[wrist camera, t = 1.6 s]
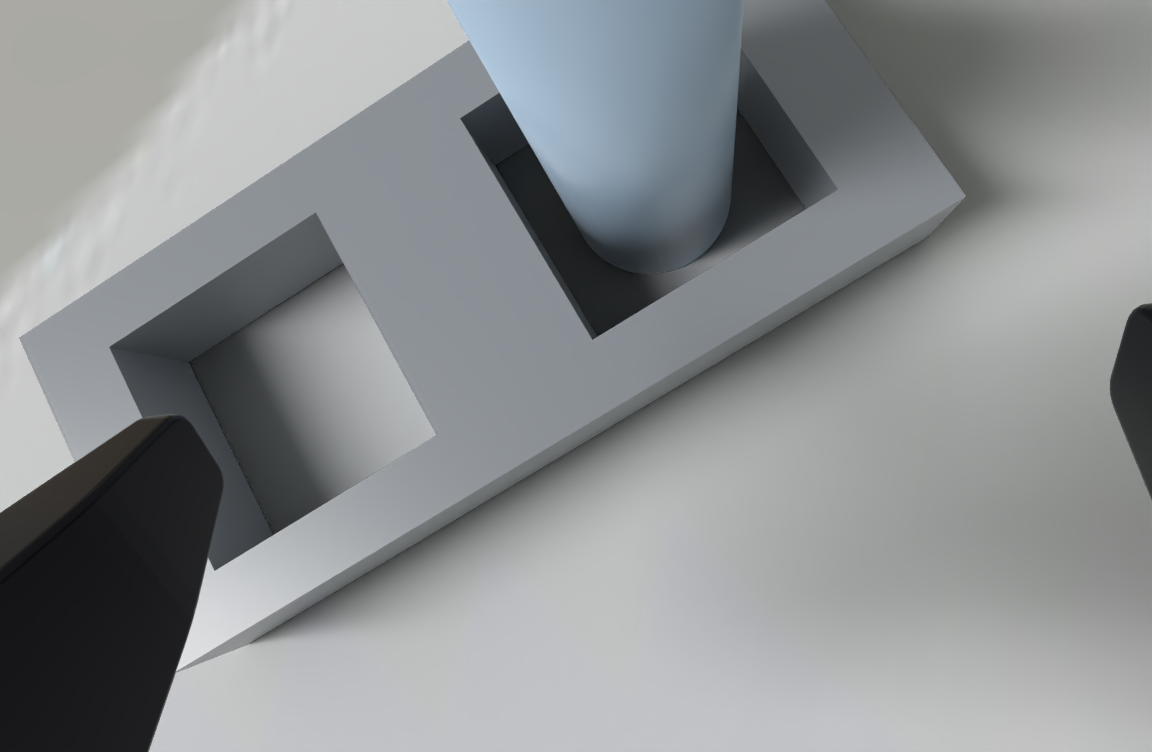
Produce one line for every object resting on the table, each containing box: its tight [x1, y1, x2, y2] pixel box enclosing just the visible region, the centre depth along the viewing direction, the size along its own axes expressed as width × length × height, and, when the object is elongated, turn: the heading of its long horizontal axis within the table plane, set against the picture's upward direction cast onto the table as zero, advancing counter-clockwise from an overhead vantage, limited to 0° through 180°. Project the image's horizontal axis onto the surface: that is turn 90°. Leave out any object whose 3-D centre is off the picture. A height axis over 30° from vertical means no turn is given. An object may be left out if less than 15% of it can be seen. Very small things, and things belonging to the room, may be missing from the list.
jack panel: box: [19, 0, 966, 672], centre depth 20 cm, size 20×9×3 cm, turn 120°
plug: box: [446, 0, 744, 274], centre depth 14 cm, size 4×4×12 cm
